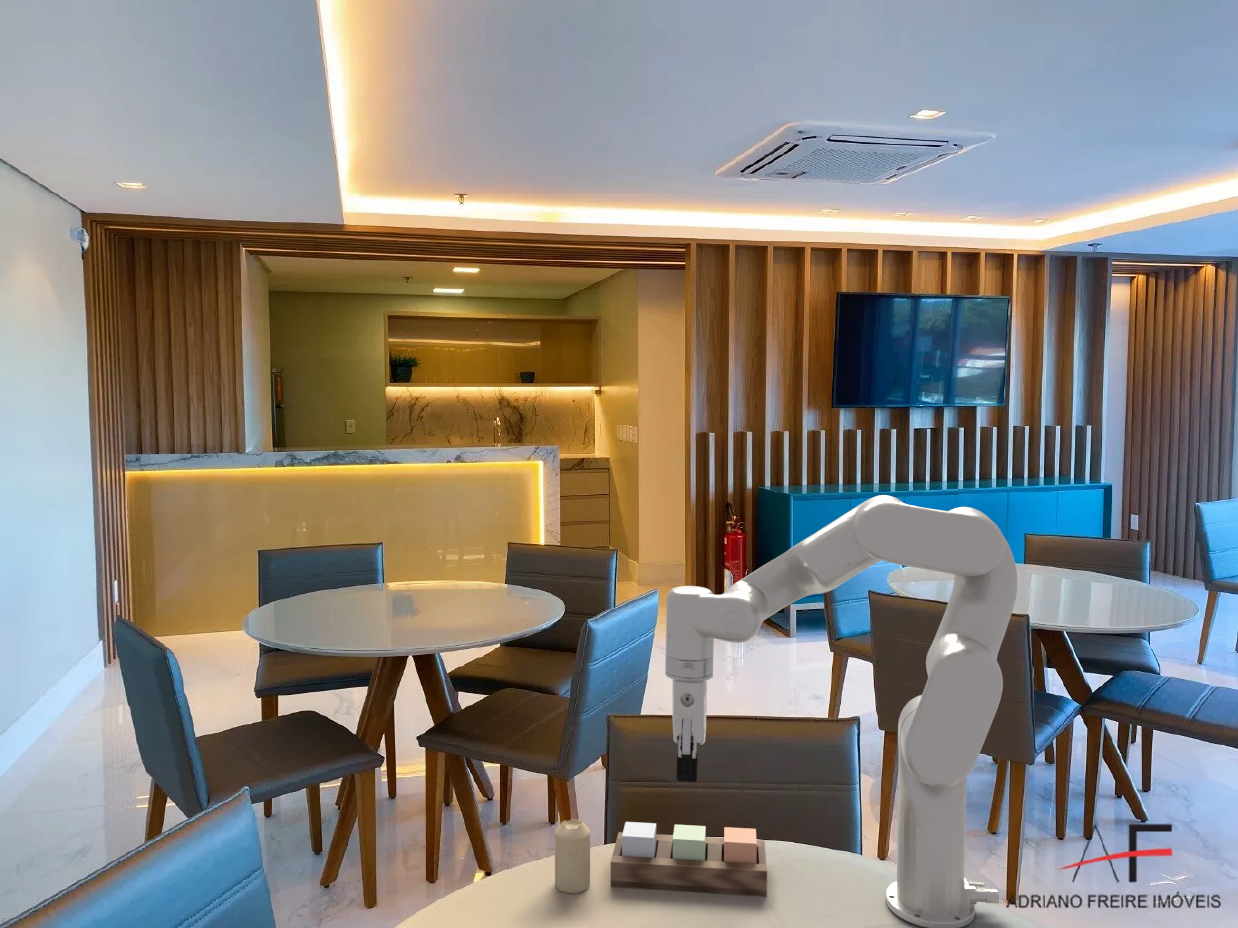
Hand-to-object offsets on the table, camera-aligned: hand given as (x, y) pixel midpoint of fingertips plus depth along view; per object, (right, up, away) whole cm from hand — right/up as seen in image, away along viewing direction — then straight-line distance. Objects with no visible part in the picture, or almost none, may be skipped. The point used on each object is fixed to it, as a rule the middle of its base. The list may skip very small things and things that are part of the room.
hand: (686, 779), depth 143 cm
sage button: (0, -13, +1) cm, 13 cm away
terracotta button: (+8, -13, 0) cm, 16 cm away
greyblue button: (-7, -13, +2) cm, 15 cm away
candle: (-18, -16, -2) cm, 24 cm away
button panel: (0, -16, +1) cm, 16 cm away
